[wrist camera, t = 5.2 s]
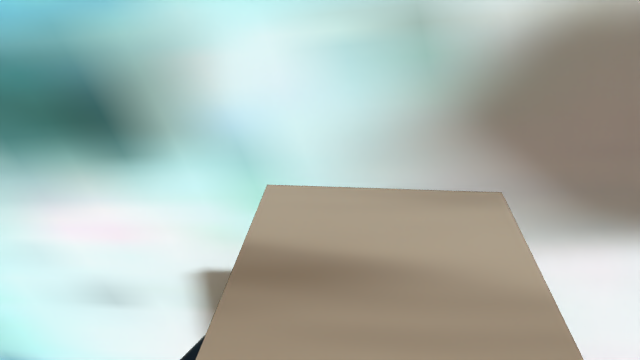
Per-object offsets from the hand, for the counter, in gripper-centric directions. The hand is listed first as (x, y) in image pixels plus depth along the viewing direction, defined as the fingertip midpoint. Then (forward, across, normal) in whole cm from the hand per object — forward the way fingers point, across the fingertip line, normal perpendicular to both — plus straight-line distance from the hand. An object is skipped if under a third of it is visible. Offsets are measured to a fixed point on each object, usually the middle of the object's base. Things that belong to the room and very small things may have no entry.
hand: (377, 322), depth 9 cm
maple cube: (+1, 0, 0) cm, 1 cm away
